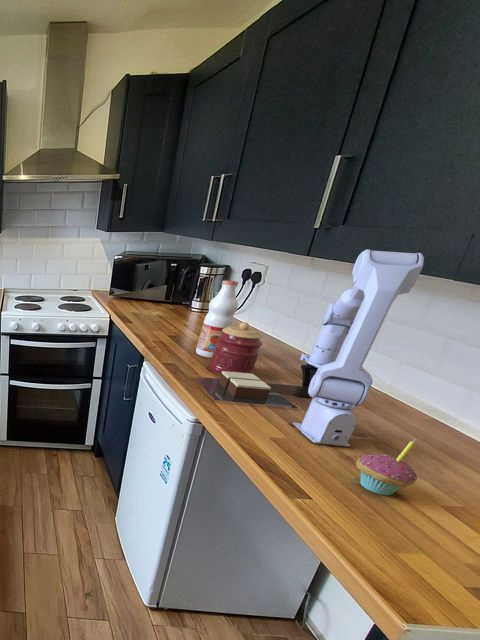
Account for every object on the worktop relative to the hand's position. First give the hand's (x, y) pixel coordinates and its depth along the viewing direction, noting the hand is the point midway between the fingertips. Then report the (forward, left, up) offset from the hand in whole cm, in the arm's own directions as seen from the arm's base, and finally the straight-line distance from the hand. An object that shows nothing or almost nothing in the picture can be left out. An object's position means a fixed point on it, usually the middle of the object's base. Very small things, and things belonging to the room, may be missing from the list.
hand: (308, 390), depth 119 cm
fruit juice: (+36, +14, -3) cm, 39 cm away
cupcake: (-45, +12, -3) cm, 47 cm away
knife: (0, +6, -2) cm, 6 cm away
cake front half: (-3, +18, -2) cm, 18 cm away
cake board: (0, +18, -3) cm, 18 cm away
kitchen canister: (+18, +14, -3) cm, 23 cm away
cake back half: (+3, +18, -2) cm, 19 cm away
